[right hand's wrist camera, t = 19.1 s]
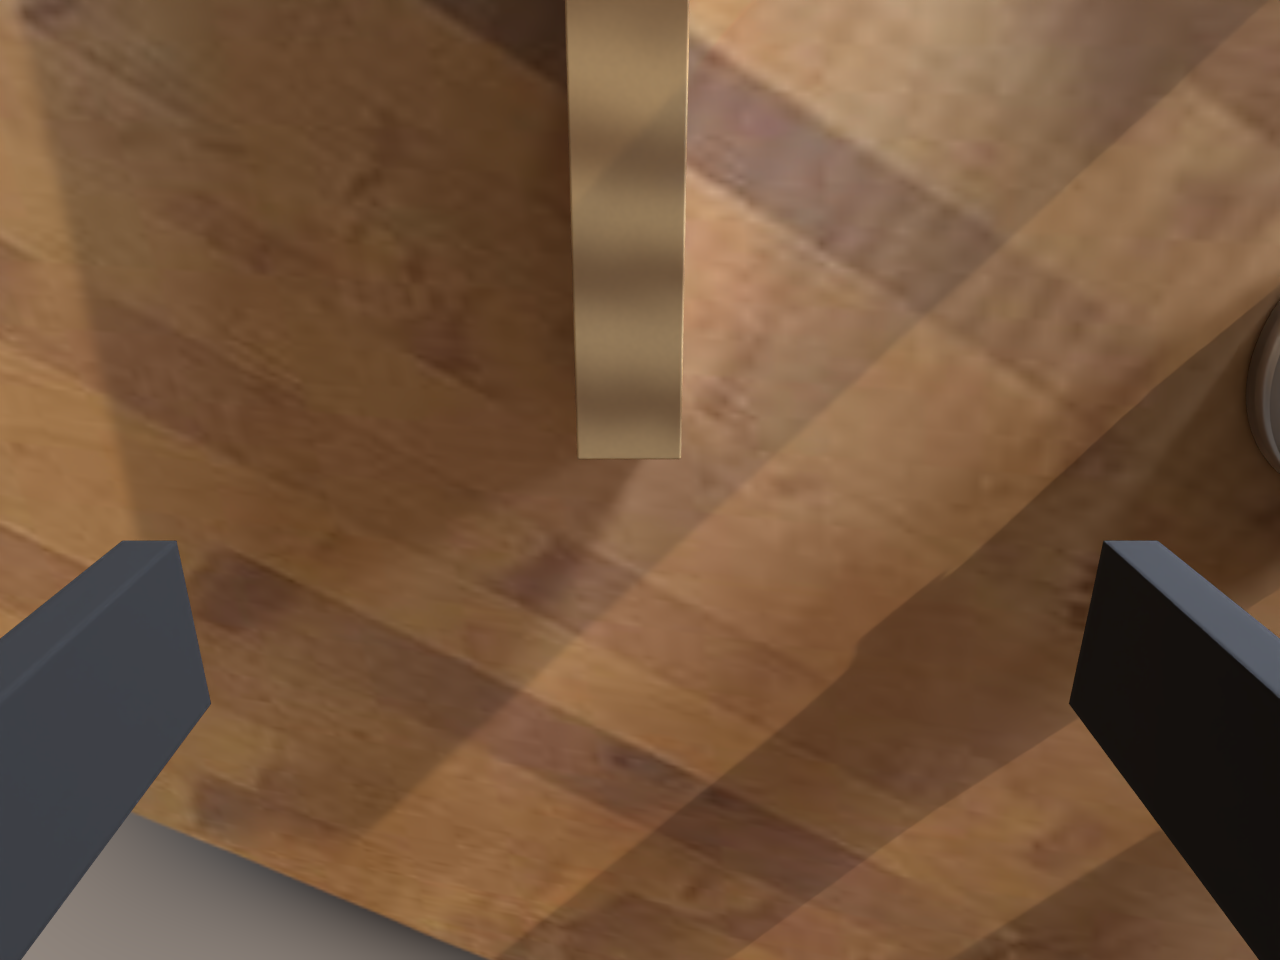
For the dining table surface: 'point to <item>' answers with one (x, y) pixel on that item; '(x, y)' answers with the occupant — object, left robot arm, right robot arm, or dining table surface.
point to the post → (628, 222)
